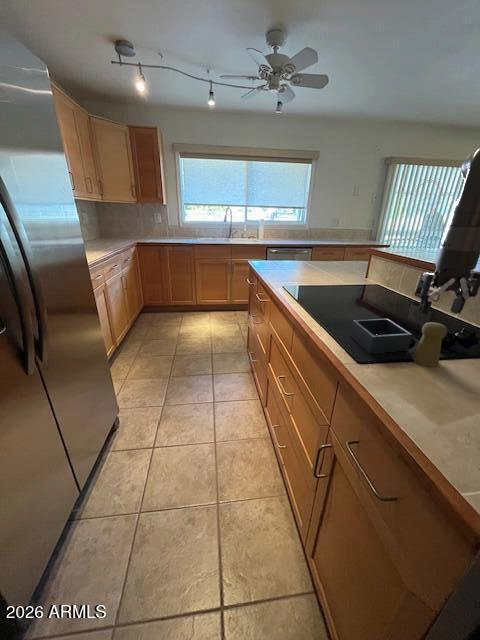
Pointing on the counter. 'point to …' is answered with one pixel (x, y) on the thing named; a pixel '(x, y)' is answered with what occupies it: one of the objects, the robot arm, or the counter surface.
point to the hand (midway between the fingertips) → (439, 313)
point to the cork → (430, 345)
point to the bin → (380, 336)
